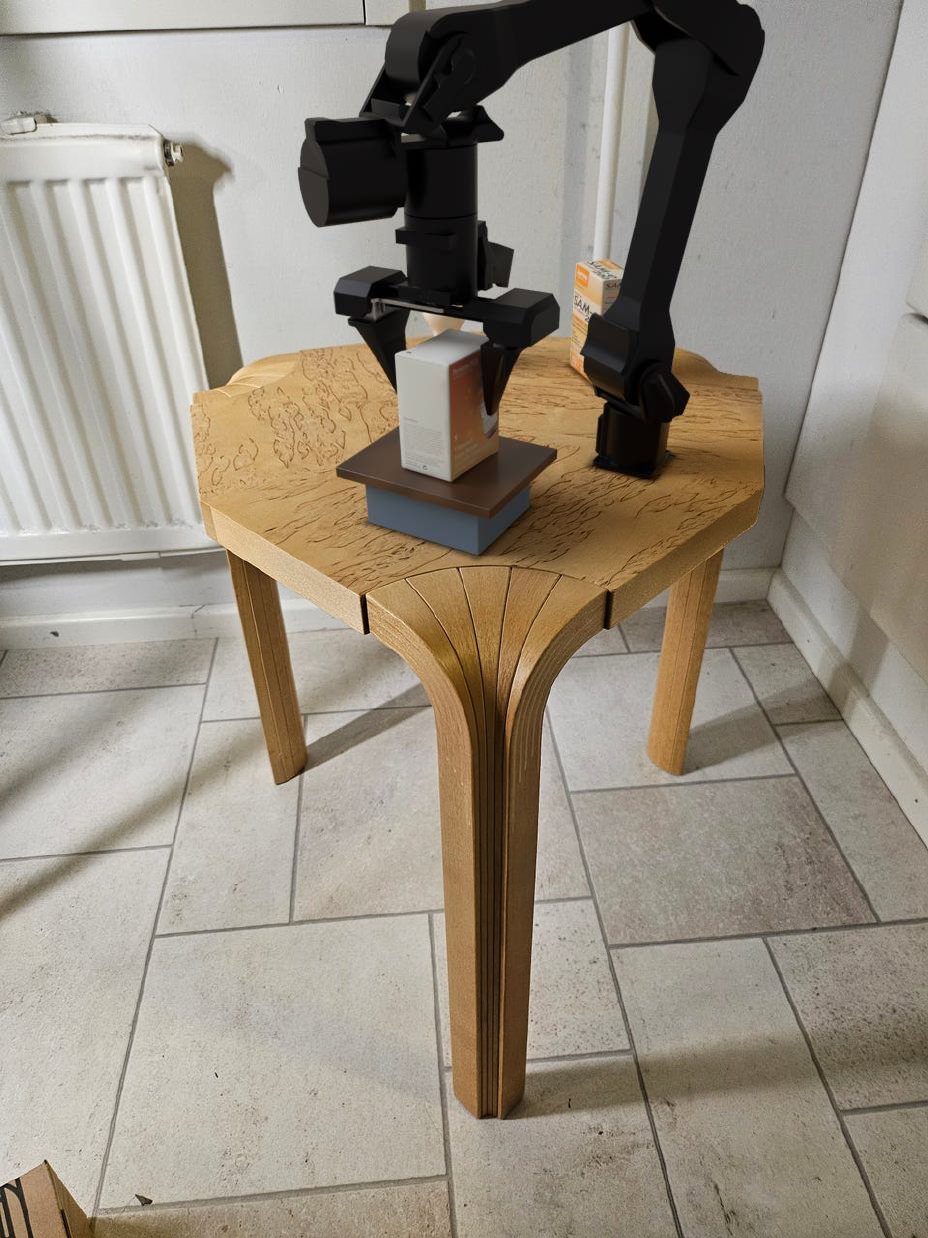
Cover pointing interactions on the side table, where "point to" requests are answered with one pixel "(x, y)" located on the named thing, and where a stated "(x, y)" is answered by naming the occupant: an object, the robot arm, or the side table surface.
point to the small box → (444, 406)
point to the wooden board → (468, 493)
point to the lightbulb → (442, 322)
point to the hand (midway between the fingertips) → (445, 403)
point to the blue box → (441, 519)
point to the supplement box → (591, 301)
